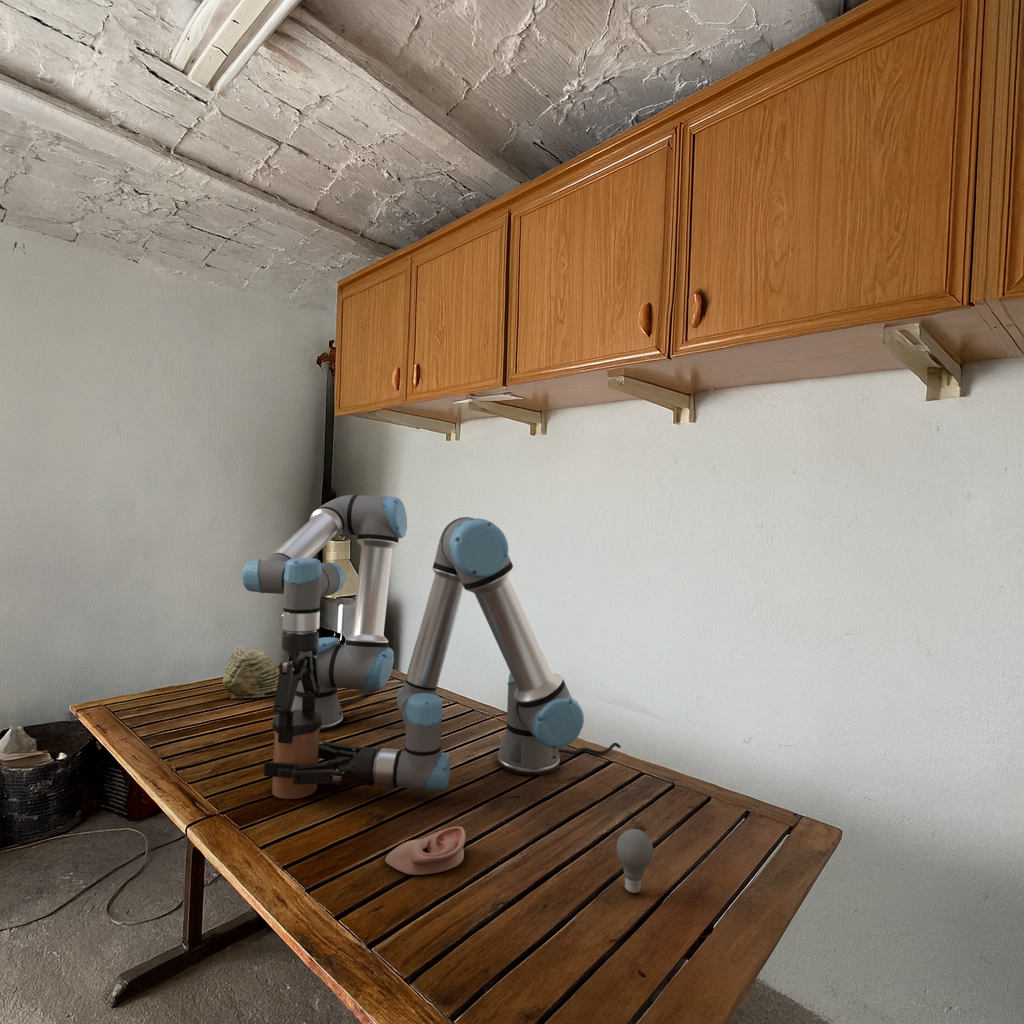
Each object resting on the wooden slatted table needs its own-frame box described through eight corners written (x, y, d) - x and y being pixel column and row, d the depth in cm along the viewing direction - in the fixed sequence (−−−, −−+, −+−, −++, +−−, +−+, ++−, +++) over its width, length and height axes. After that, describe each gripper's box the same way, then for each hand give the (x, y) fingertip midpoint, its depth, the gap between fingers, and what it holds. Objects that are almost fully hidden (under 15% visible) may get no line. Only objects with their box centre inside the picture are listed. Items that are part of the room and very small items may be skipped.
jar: (283, 803, 130) (286, 731, 130) (264, 787, 137) (267, 719, 137) (325, 790, 137) (328, 721, 136) (305, 775, 143) (307, 710, 143)
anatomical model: (378, 846, 108) (403, 814, 120) (377, 869, 108) (402, 835, 120) (453, 858, 106) (471, 824, 117) (452, 882, 106) (470, 846, 117)
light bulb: (610, 879, 108) (613, 822, 108) (644, 879, 109) (647, 822, 109) (619, 902, 102) (622, 840, 102) (655, 901, 103) (658, 840, 103)
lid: (324, 732, 134) (324, 723, 134) (273, 736, 130) (273, 727, 130) (319, 716, 143) (319, 708, 143) (271, 720, 139) (271, 712, 139)
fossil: (218, 695, 195) (220, 647, 195) (278, 685, 208) (279, 640, 207) (228, 703, 189) (230, 653, 188) (289, 692, 201) (290, 645, 201)
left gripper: (307, 619, 148) (303, 714, 148) (257, 640, 125) (253, 752, 126) (338, 622, 147) (334, 717, 147) (293, 643, 124) (288, 755, 125)
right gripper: (360, 809, 124) (250, 799, 126) (390, 763, 146) (296, 755, 148) (361, 771, 124) (251, 762, 126) (392, 730, 146) (297, 723, 148)
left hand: (296, 733), depth 137 cm, fingers closed on lid, 10 cm apart
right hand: (276, 758), depth 137 cm, fingers closed on jar, 9 cm apart
